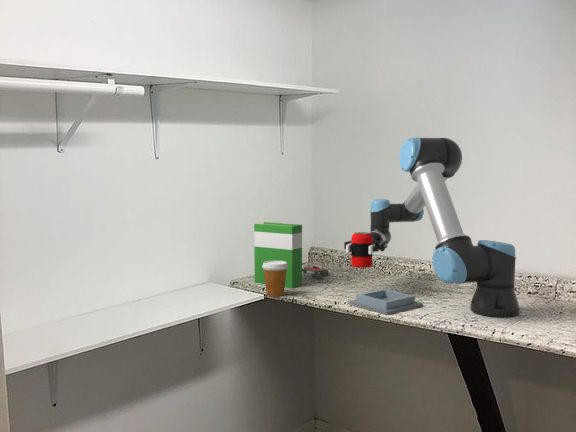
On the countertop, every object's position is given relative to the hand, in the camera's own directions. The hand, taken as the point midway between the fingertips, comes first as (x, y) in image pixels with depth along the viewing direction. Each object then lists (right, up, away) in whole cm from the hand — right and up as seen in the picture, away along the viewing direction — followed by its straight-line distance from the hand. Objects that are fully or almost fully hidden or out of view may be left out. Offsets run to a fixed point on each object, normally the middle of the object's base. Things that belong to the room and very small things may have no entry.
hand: (358, 249), depth 216 cm
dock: (+8, -19, -8) cm, 22 cm away
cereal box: (-29, -15, +27) cm, 42 cm away
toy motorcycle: (-12, -14, +43) cm, 47 cm away
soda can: (+2, -6, +5) cm, 8 cm away
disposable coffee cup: (-30, -17, +8) cm, 35 cm away
